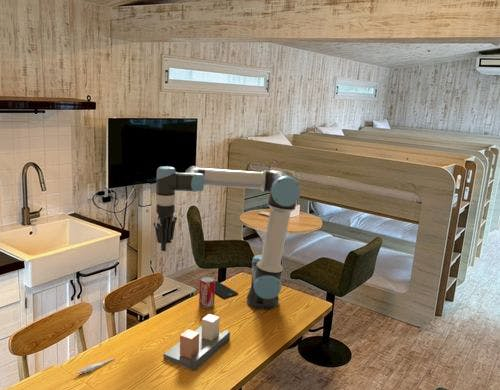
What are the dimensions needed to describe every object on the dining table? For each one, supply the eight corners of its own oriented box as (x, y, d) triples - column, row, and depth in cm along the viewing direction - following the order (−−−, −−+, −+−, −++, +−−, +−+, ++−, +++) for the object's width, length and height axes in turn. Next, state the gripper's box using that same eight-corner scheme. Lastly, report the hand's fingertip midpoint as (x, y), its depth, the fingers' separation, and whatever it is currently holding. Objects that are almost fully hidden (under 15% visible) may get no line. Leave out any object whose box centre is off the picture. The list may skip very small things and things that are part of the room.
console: (163, 358, 168) (163, 349, 167) (200, 330, 188) (200, 321, 187) (194, 371, 161) (195, 361, 160) (229, 340, 182) (230, 331, 181)
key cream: (201, 337, 179) (202, 318, 177) (208, 331, 183) (209, 313, 181) (212, 341, 176) (212, 322, 175) (219, 335, 181) (219, 317, 179)
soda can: (205, 300, 215) (206, 274, 212) (217, 304, 211) (218, 278, 208) (195, 305, 209) (196, 279, 206) (207, 310, 205) (208, 283, 202)
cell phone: (224, 299, 217) (224, 298, 216) (202, 286, 230) (202, 284, 229) (238, 295, 222) (238, 293, 222) (216, 282, 235) (216, 280, 235)
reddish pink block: (179, 354, 167) (180, 335, 165) (187, 348, 171) (188, 329, 169) (190, 359, 164) (191, 339, 163) (198, 352, 169) (199, 333, 167)
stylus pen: (78, 378, 154) (78, 373, 154) (74, 375, 156) (74, 370, 156) (117, 362, 165) (117, 357, 165) (113, 359, 167) (113, 354, 167)
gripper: (168, 199, 196) (167, 250, 202) (148, 205, 185) (148, 259, 190) (182, 202, 193) (181, 254, 198) (162, 208, 182) (162, 263, 187)
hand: (165, 257), depth 194 cm, fingers closed
